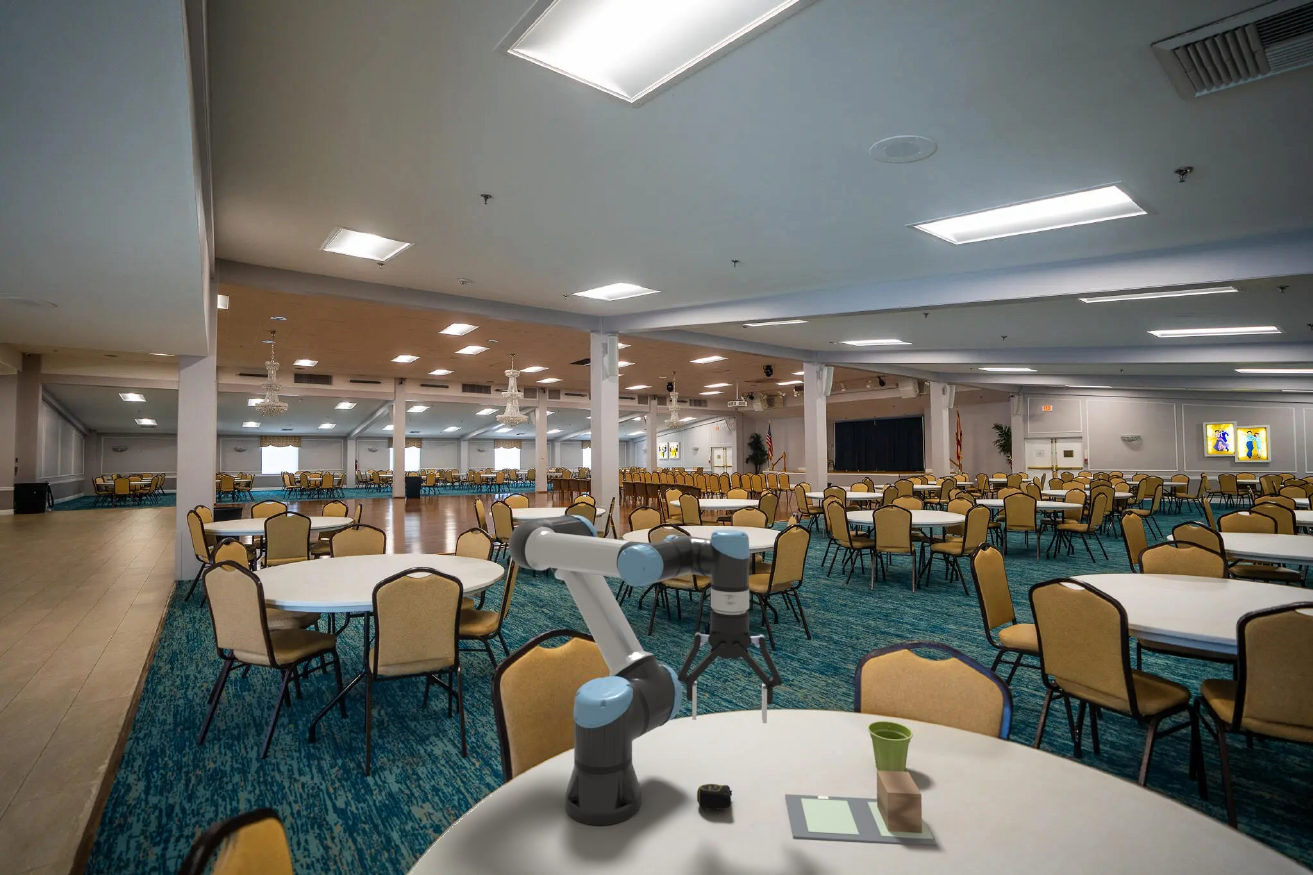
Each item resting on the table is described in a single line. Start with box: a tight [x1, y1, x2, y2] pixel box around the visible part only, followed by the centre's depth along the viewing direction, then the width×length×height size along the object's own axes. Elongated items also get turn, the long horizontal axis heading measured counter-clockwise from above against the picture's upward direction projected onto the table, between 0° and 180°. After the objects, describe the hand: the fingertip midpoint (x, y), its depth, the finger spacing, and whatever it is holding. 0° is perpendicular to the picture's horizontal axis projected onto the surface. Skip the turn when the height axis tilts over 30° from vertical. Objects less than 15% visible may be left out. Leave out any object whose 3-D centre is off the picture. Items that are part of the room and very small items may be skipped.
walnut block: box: [876, 769, 923, 833], centre depth 117 cm, size 6×8×7 cm
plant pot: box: [867, 720, 914, 772], centre depth 138 cm, size 9×9×9 cm
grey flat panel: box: [784, 793, 937, 847], centre depth 118 cm, size 25×14×1 cm, turn 84°
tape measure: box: [696, 783, 733, 811], centre depth 123 cm, size 7×7×4 cm
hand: (729, 718), depth 121 cm, fingers open, 13 cm apart
